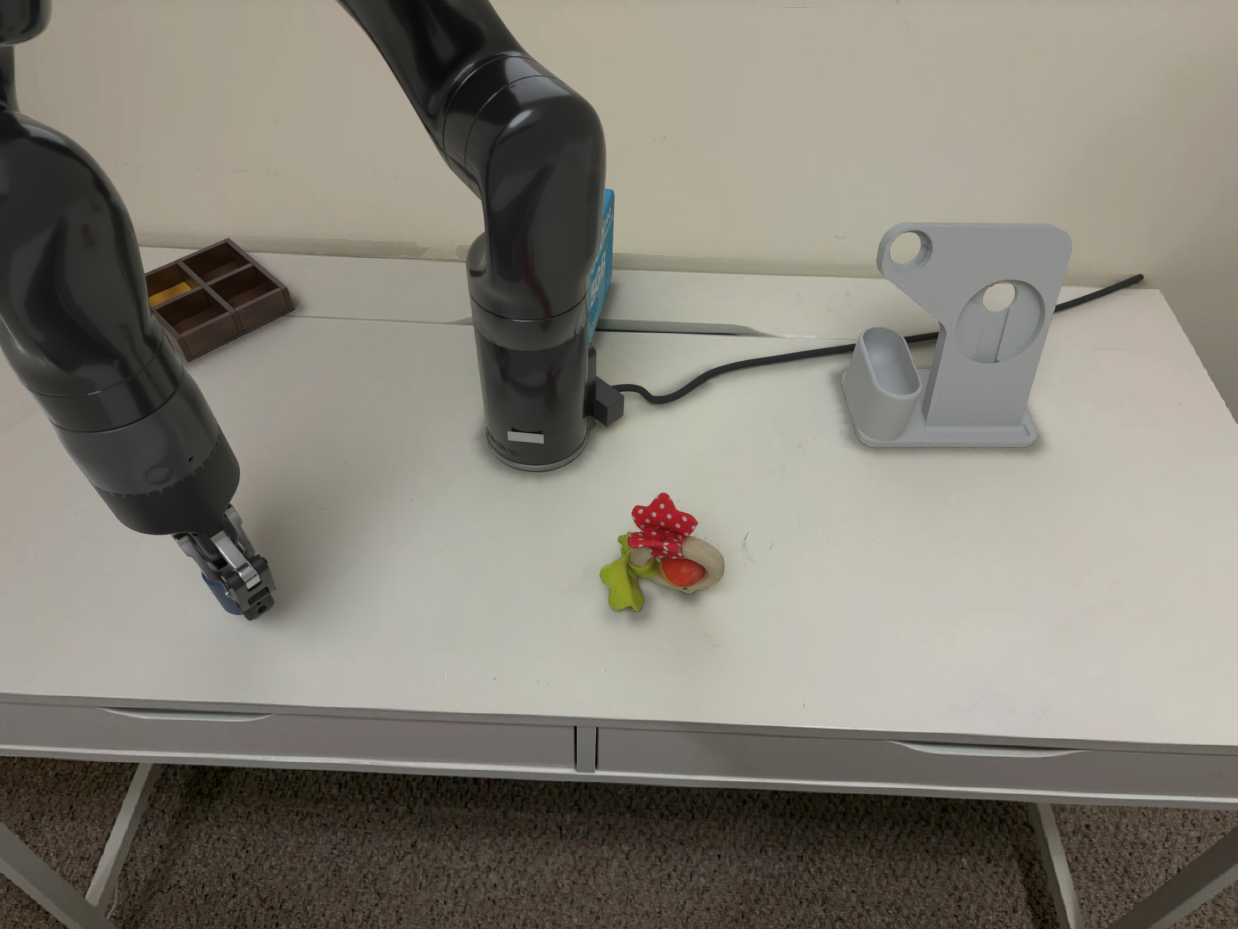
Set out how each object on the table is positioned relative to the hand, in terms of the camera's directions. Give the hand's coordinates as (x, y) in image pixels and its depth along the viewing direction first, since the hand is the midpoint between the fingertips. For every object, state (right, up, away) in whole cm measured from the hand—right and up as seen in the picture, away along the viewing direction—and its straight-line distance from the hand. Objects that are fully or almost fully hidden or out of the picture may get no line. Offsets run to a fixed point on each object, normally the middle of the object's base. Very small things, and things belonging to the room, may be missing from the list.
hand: (244, 592), depth 61 cm
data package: (+24, +26, +27) cm, 44 cm away
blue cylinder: (0, 0, 0) cm, 0 cm away
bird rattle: (+31, 0, +5) cm, 31 cm away
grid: (-14, +26, +25) cm, 39 cm away
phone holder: (+58, +15, +19) cm, 63 cm away
